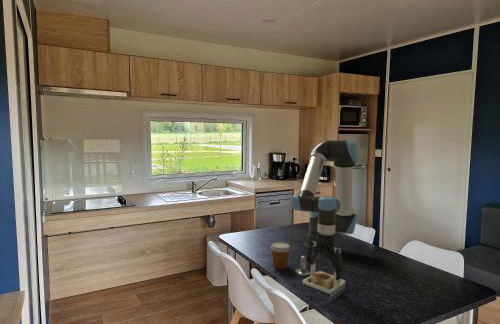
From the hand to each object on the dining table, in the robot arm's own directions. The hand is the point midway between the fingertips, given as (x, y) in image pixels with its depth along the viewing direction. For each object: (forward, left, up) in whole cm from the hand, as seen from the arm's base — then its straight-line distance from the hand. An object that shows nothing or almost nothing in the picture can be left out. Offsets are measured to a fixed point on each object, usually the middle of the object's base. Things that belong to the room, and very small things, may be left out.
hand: (323, 282), depth 139 cm
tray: (0, 0, -2) cm, 2 cm away
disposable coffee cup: (-1, -25, -2) cm, 25 cm away
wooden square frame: (0, 0, -1) cm, 1 cm away
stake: (-3, -13, -2) cm, 14 cm away
